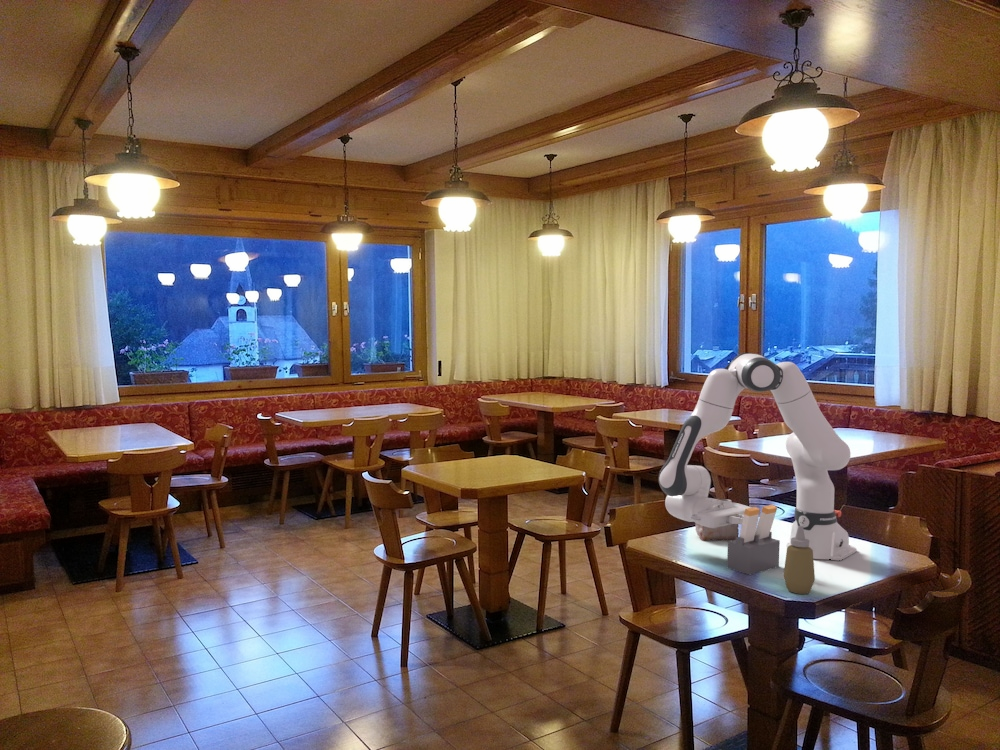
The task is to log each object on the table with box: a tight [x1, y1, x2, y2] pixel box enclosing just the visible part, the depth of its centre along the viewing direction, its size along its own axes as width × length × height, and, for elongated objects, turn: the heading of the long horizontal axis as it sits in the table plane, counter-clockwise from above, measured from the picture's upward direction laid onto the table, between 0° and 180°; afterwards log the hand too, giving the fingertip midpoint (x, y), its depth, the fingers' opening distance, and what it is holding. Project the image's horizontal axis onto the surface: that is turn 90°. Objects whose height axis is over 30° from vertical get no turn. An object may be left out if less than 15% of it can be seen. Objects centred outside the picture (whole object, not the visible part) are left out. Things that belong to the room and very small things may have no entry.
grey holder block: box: [726, 531, 781, 576], centre depth 229 cm, size 14×8×10 cm, turn 125°
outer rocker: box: [739, 506, 761, 543], centre depth 226 cm, size 5×2×10 cm, turn 125°
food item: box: [695, 523, 740, 542], centre depth 260 cm, size 14×8×10 cm, turn 88°
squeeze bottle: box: [782, 526, 816, 595], centre depth 209 cm, size 8×8×18 cm
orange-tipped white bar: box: [755, 504, 778, 539], centre depth 230 cm, size 5×2×10 cm, turn 125°
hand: (747, 521), depth 227 cm, fingers closed, pressing on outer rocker
